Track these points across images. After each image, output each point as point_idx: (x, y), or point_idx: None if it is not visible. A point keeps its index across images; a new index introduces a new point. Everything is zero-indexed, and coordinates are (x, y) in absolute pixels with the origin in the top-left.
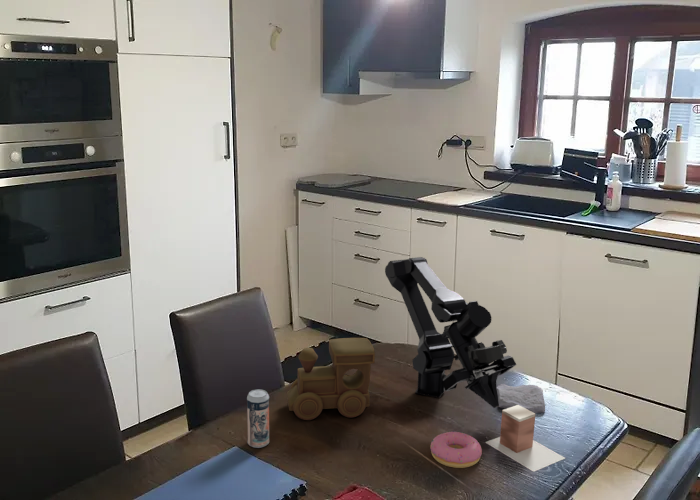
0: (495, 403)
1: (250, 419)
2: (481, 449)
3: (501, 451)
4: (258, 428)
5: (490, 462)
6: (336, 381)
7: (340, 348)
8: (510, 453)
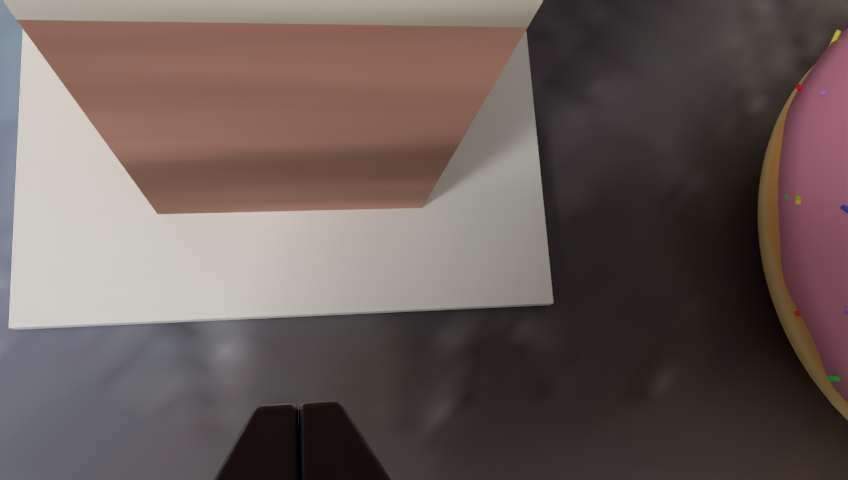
0: (348, 435)
1: None
2: (833, 57)
3: (522, 76)
4: None
5: (715, 21)
6: None
7: None
8: None
